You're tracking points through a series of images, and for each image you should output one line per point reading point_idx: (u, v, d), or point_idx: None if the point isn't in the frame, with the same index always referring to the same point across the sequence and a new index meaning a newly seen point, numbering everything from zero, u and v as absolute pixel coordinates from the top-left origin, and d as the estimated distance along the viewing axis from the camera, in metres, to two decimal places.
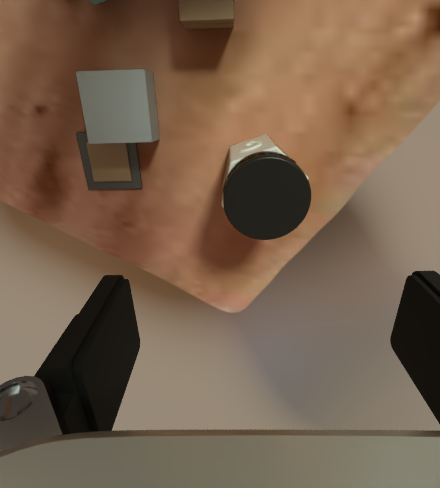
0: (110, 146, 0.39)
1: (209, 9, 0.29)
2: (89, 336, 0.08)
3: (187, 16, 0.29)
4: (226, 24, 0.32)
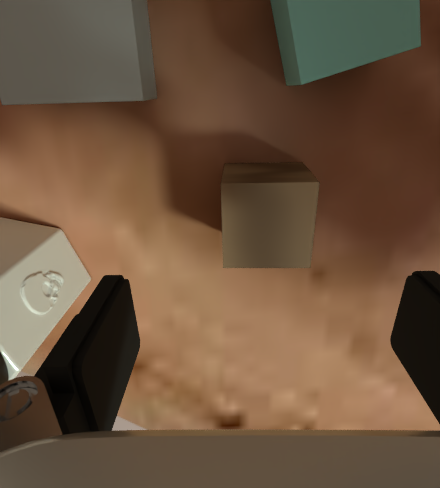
0: None
1: (235, 233, 0.18)
2: (89, 336, 0.08)
3: (226, 197, 0.17)
4: None
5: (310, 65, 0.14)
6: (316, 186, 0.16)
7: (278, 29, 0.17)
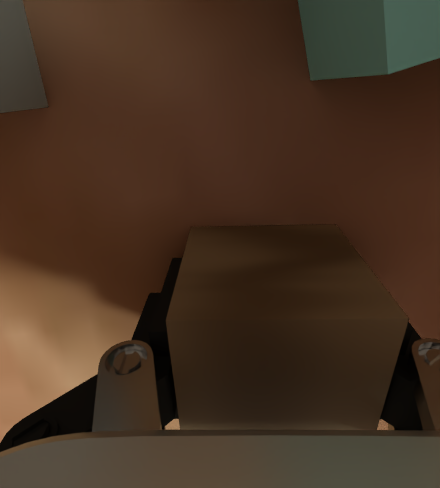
0: None
1: (208, 409, 0.08)
2: None
3: (182, 346, 0.07)
4: None
5: (422, 13, 0.04)
6: (400, 327, 0.07)
7: None
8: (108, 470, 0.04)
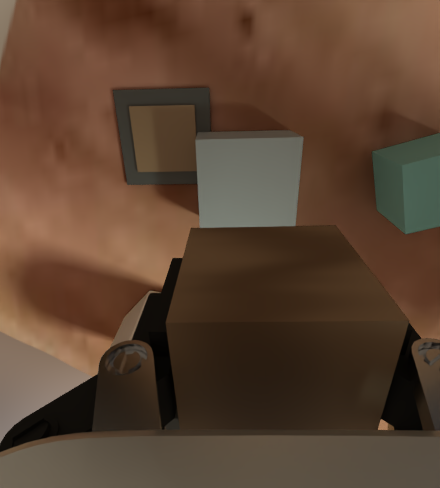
0: (189, 146, 0.24)
1: (208, 411, 0.08)
2: None
3: (182, 348, 0.07)
4: None
5: (412, 224, 0.22)
6: (400, 329, 0.07)
7: (379, 182, 0.25)
8: (108, 470, 0.04)
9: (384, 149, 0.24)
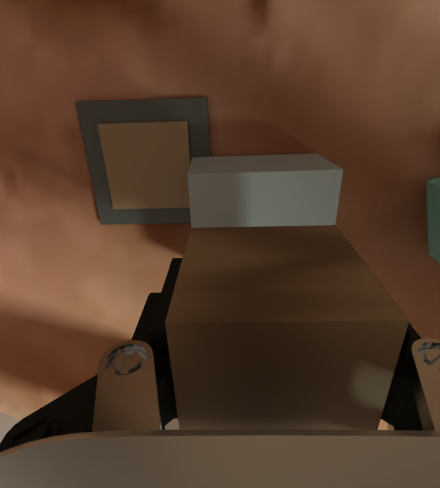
0: (181, 175, 0.18)
1: (207, 411, 0.08)
2: None
3: (182, 348, 0.07)
4: None
5: None
6: (400, 329, 0.07)
7: (436, 222, 0.18)
8: (108, 470, 0.04)
9: None
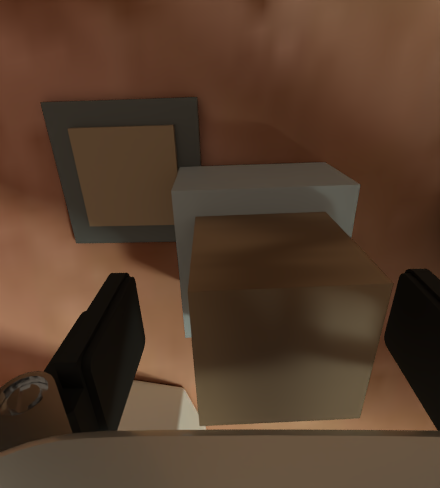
0: (167, 188, 0.15)
1: (222, 373, 0.09)
2: (97, 332, 0.08)
3: (201, 315, 0.08)
4: None
5: None
6: (386, 291, 0.08)
7: None
8: (108, 470, 0.04)
9: None
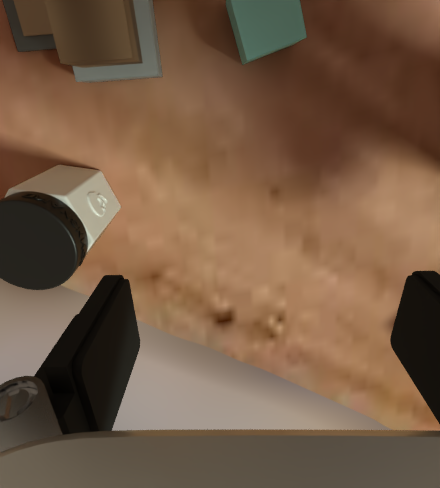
0: None
1: (62, 24, 0.21)
2: (89, 336, 0.08)
3: None
4: None
5: (250, 50, 0.26)
6: None
7: (234, 31, 0.28)
8: (108, 470, 0.04)
9: None
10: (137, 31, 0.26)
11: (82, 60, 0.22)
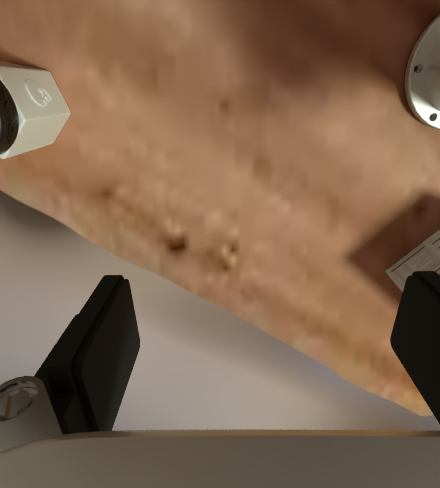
0: None
1: None
2: (89, 336, 0.08)
3: None
4: None
5: None
6: None
7: None
8: (108, 470, 0.04)
9: None
10: None
11: None
